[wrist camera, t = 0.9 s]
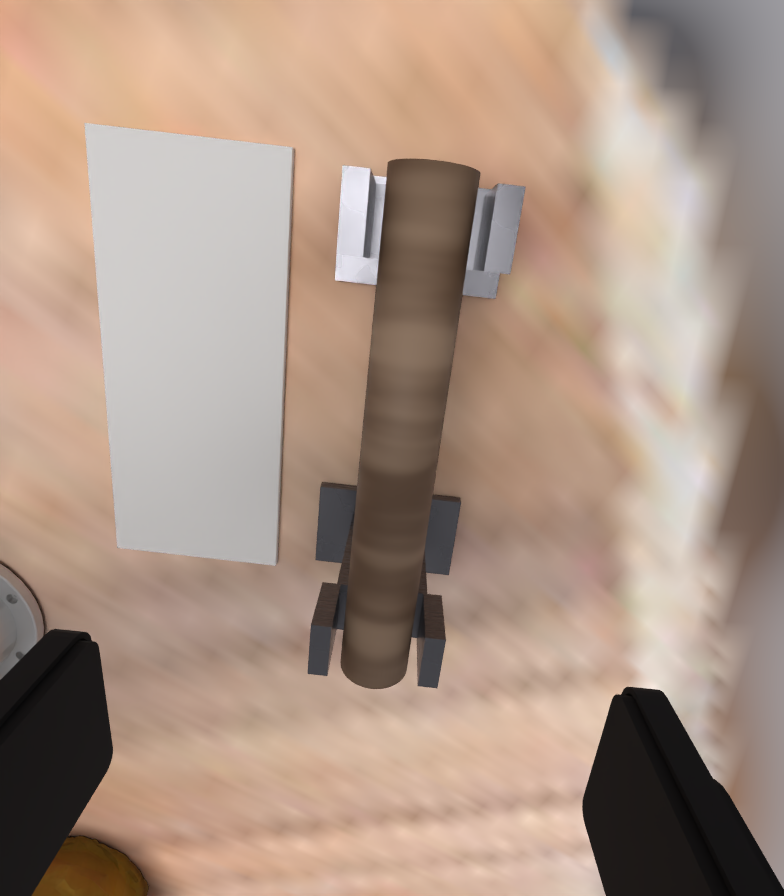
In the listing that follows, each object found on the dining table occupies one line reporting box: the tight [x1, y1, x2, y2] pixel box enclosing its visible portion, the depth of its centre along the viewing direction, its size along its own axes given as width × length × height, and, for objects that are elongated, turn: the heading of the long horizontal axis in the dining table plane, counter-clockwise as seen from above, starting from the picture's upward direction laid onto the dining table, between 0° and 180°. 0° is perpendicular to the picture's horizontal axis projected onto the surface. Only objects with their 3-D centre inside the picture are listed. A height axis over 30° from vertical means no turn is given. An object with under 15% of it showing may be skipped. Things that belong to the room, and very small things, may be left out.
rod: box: [341, 159, 480, 689], centre depth 24 cm, size 24×4×4 cm, turn 174°
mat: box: [85, 123, 294, 566], centre depth 35 cm, size 28×12×1 cm, turn 174°
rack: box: [308, 165, 525, 688], centre depth 29 cm, size 26×10×14 cm, turn 174°
